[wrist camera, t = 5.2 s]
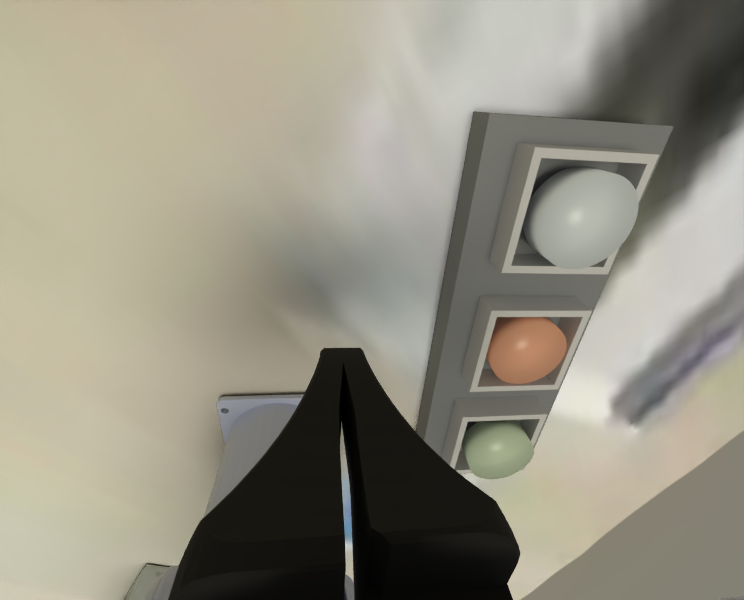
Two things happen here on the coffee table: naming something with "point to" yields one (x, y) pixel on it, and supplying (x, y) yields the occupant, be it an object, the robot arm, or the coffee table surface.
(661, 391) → the coffee table surface
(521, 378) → the terracotta button
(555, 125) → the button panel
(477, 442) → the sage button
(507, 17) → the coffee table surface
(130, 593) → the tea box
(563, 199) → the blue-grey button
